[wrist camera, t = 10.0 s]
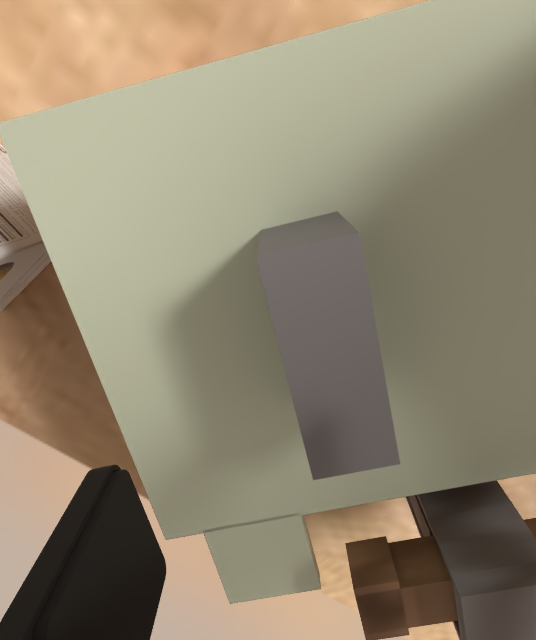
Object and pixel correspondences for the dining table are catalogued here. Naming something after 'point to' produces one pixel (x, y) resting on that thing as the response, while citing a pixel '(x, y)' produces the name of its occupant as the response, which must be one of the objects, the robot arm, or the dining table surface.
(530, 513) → the dining table surface
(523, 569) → the brown wooden box
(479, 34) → the lid
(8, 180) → the supplement box
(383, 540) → the brown wooden bar
